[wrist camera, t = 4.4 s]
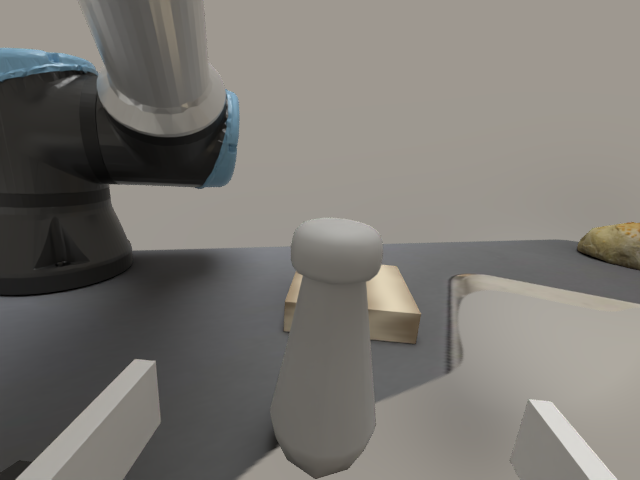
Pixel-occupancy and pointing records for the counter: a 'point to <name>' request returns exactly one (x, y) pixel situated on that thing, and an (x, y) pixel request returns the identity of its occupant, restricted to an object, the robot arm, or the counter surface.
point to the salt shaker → (328, 348)
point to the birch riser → (377, 307)
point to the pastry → (614, 244)
